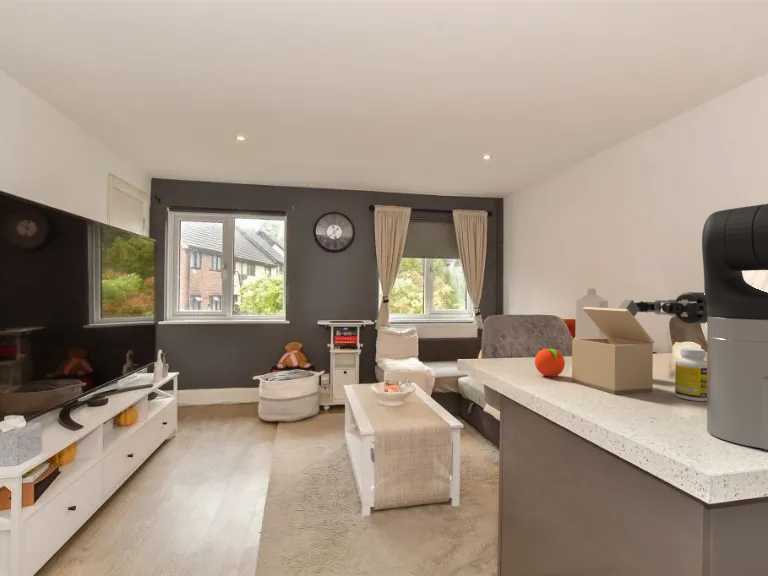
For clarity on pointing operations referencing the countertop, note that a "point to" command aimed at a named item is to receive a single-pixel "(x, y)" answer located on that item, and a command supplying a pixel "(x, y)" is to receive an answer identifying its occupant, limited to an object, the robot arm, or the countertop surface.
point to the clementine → (549, 362)
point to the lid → (619, 322)
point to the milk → (583, 321)
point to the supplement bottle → (691, 375)
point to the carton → (613, 365)
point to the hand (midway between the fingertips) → (649, 307)
